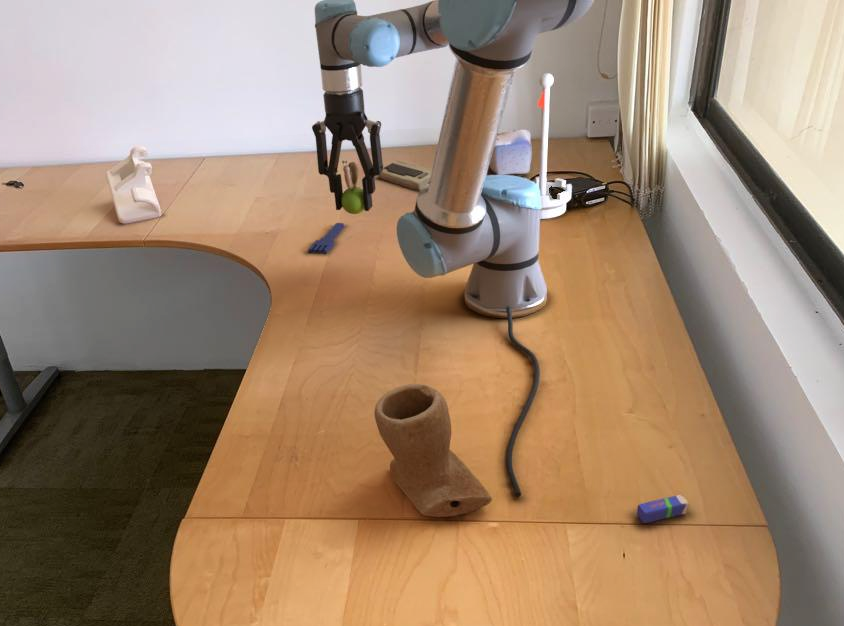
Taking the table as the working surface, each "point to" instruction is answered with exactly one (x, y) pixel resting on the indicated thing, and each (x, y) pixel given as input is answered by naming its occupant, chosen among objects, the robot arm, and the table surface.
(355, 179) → the snail figurine
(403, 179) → the computer
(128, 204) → the white angular piece
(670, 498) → the eraser
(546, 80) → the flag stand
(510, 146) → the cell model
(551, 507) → the table surface
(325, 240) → the fork
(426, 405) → the clay pipe
